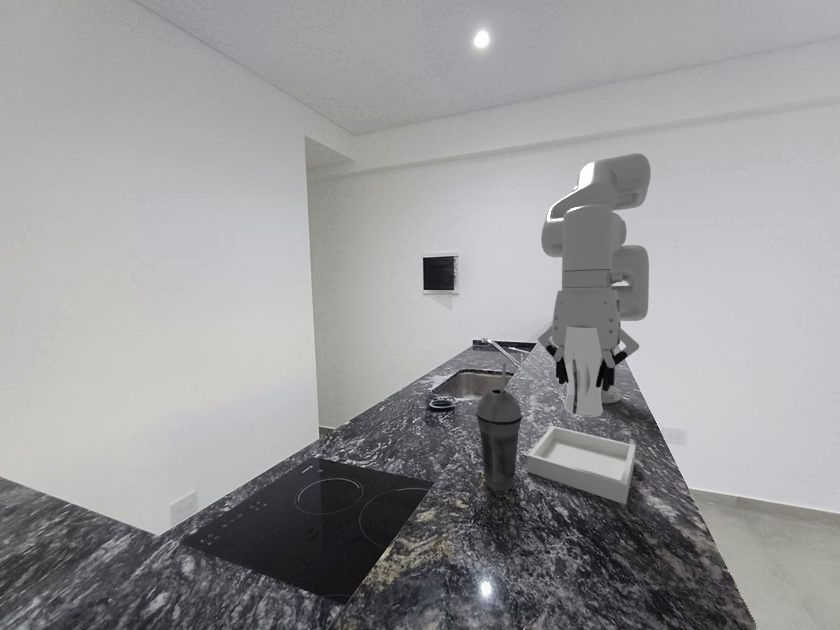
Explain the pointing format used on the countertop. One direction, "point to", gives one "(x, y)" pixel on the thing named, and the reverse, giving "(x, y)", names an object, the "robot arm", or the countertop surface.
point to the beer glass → (583, 371)
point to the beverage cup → (499, 435)
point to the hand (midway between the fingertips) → (583, 384)
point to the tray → (584, 462)
